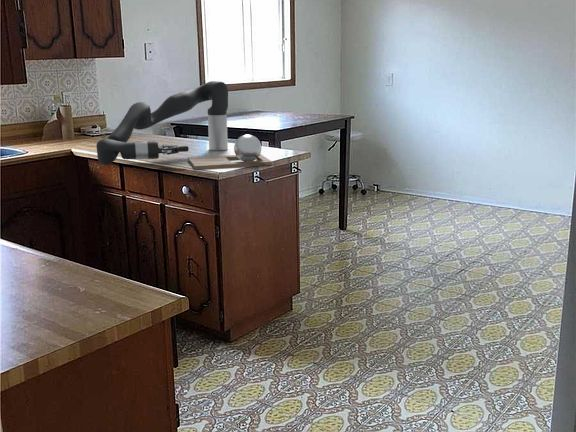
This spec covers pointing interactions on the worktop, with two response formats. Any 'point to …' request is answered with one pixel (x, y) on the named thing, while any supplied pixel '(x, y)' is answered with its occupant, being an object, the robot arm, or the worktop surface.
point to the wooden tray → (225, 162)
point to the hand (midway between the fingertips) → (188, 148)
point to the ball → (247, 148)
